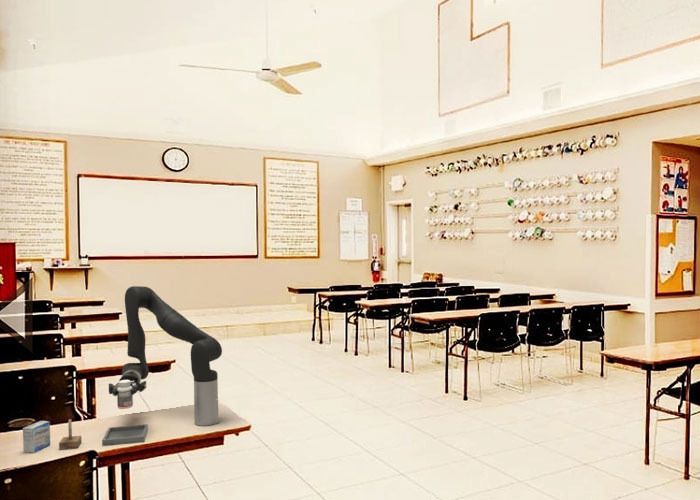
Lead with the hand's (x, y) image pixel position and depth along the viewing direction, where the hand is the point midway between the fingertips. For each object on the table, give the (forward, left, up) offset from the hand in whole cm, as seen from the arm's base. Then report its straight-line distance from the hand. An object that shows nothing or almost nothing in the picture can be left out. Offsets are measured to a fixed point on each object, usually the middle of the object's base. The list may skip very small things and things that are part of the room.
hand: (124, 392), depth 203 cm
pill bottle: (0, -3, -6) cm, 7 cm away
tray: (0, -2, -17) cm, 17 cm away
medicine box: (+29, +1, -18) cm, 34 cm away
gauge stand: (+18, +2, -17) cm, 25 cm away
